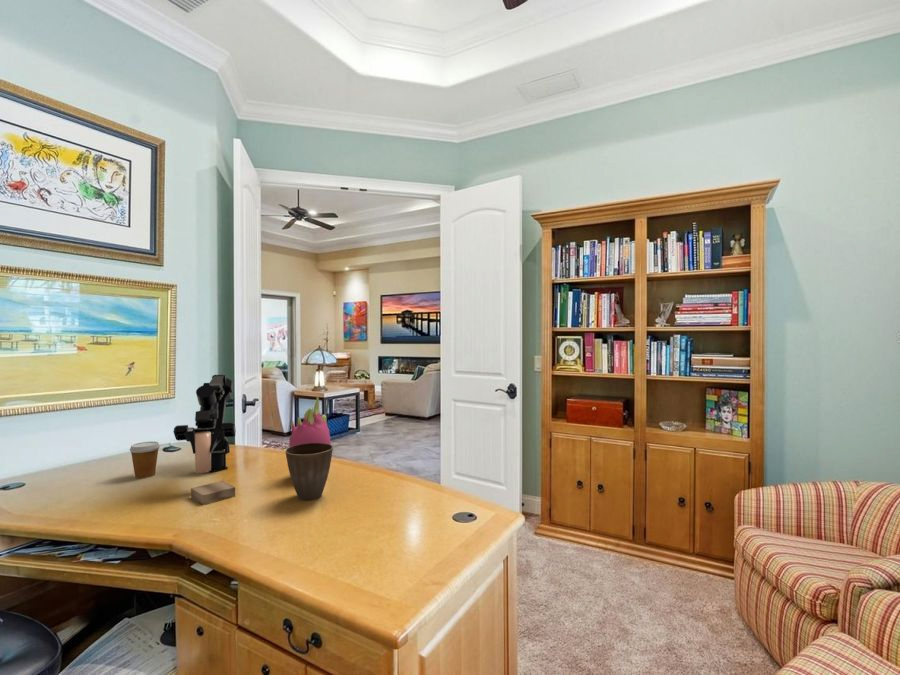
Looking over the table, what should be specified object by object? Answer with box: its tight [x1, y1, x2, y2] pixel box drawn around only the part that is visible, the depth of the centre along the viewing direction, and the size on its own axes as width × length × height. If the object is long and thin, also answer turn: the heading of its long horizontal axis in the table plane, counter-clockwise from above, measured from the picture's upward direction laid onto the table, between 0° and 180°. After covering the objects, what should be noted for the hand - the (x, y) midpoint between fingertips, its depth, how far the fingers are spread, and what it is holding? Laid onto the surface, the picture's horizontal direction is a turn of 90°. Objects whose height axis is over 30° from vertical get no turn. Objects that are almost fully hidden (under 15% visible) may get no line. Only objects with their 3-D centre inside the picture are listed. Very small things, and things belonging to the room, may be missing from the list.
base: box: [190, 480, 236, 506], centre depth 148 cm, size 10×10×3 cm
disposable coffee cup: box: [129, 441, 161, 479], centre depth 170 cm, size 10×10×12 cm
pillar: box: [194, 431, 211, 474], centre depth 154 cm, size 5×5×13 cm
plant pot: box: [285, 443, 334, 501], centre depth 148 cm, size 15×15×16 cm
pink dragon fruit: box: [288, 396, 332, 448], centre depth 169 cm, size 18×14×30 cm
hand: (202, 452), depth 153 cm, fingers closed on pillar, 5 cm apart
